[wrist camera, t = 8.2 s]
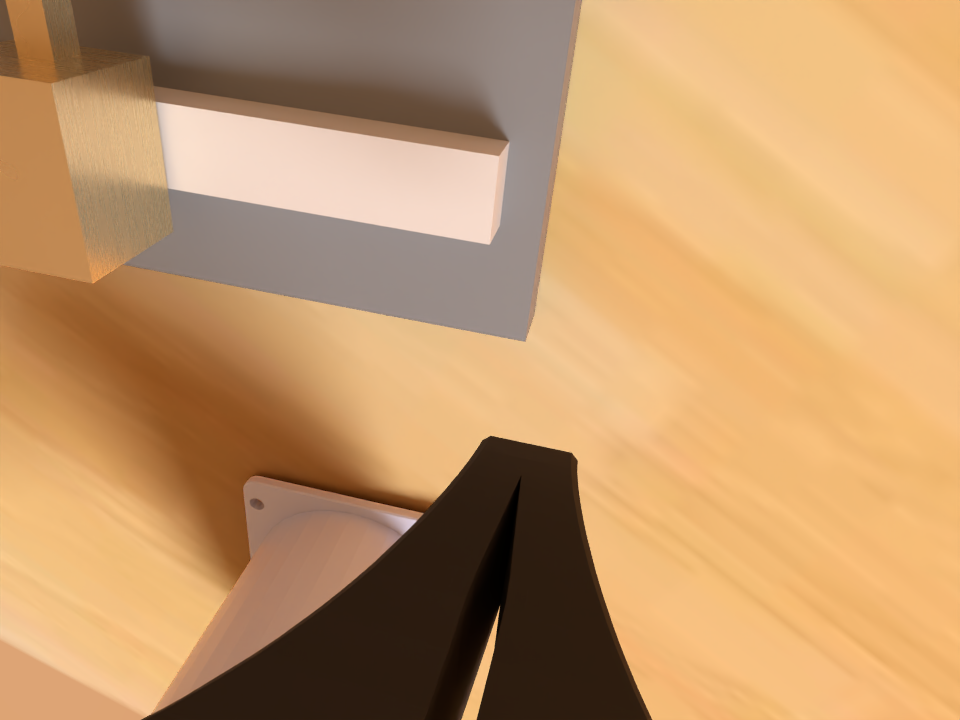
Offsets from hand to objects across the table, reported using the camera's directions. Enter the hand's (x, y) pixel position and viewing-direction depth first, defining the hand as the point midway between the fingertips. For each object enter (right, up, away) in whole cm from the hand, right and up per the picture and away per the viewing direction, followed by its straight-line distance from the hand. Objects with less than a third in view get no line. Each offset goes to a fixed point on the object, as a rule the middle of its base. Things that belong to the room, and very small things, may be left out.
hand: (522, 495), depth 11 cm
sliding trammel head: (-9, +9, +6) cm, 14 cm away
